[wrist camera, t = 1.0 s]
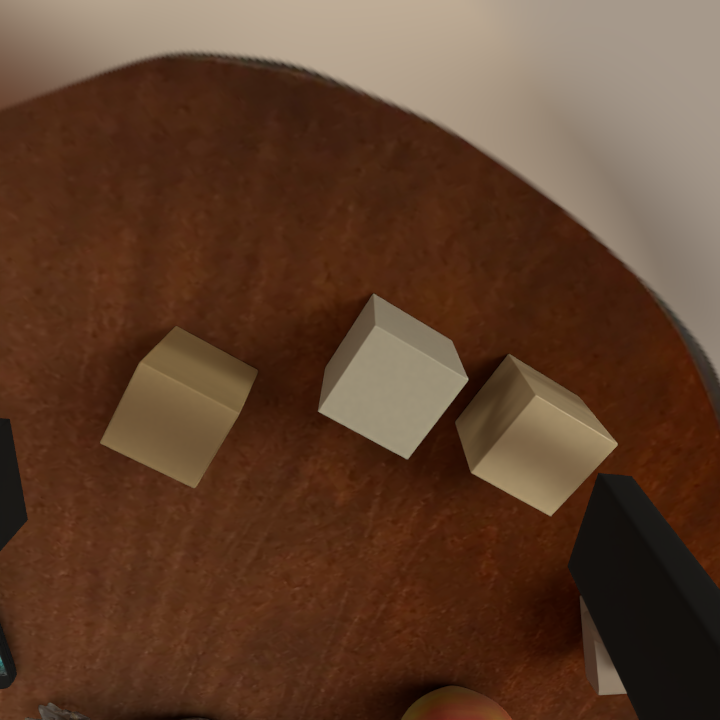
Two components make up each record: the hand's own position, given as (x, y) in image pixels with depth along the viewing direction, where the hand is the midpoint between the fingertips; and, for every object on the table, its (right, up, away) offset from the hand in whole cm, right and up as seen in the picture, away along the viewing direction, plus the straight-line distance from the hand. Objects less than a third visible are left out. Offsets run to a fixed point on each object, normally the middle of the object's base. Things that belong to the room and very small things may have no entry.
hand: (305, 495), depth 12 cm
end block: (+10, 0, +18) cm, 21 cm away
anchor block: (-8, +2, +17) cm, 19 cm away
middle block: (+3, +3, +17) cm, 17 cm away
